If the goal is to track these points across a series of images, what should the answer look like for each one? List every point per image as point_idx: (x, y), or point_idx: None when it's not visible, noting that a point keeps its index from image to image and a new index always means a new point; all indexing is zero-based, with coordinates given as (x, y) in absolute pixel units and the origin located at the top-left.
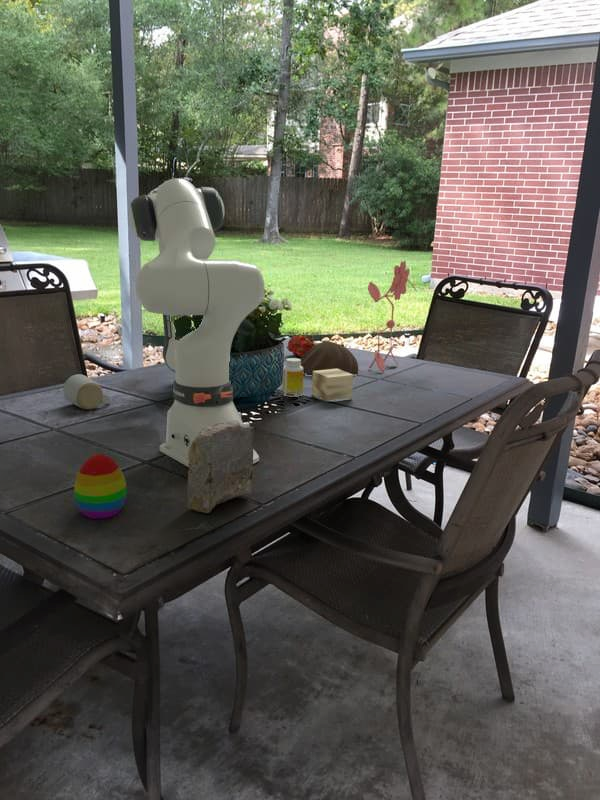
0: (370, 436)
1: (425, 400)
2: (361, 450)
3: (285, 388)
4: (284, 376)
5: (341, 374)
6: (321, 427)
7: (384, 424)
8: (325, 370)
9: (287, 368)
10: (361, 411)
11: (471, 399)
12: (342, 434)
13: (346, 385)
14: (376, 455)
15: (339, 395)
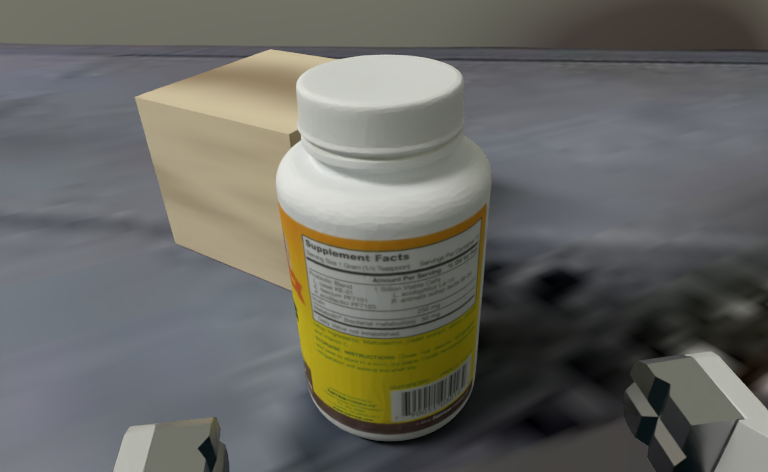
0: (636, 78)
1: None
2: (746, 68)
3: (477, 338)
4: (481, 259)
5: (294, 64)
6: (718, 139)
7: (509, 83)
8: (229, 108)
9: (482, 162)
10: None
11: (129, 54)
12: (701, 103)
13: None
14: (734, 55)
15: None
